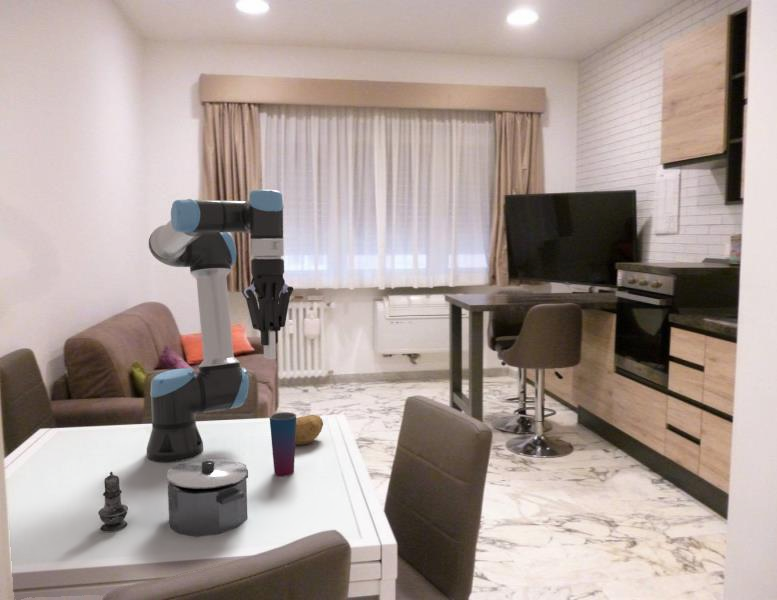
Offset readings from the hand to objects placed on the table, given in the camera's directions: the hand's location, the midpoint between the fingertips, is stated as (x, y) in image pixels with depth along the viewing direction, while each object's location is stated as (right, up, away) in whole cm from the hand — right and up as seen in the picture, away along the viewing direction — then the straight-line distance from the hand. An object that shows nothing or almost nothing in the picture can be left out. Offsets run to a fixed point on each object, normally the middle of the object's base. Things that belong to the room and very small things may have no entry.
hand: (269, 358), depth 145 cm
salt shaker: (-30, -34, -14) cm, 48 cm away
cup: (+1, -31, +15) cm, 35 cm away
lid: (-11, -24, -12) cm, 29 cm away
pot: (-11, -34, -11) cm, 37 cm away
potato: (+3, -29, +38) cm, 48 cm away
